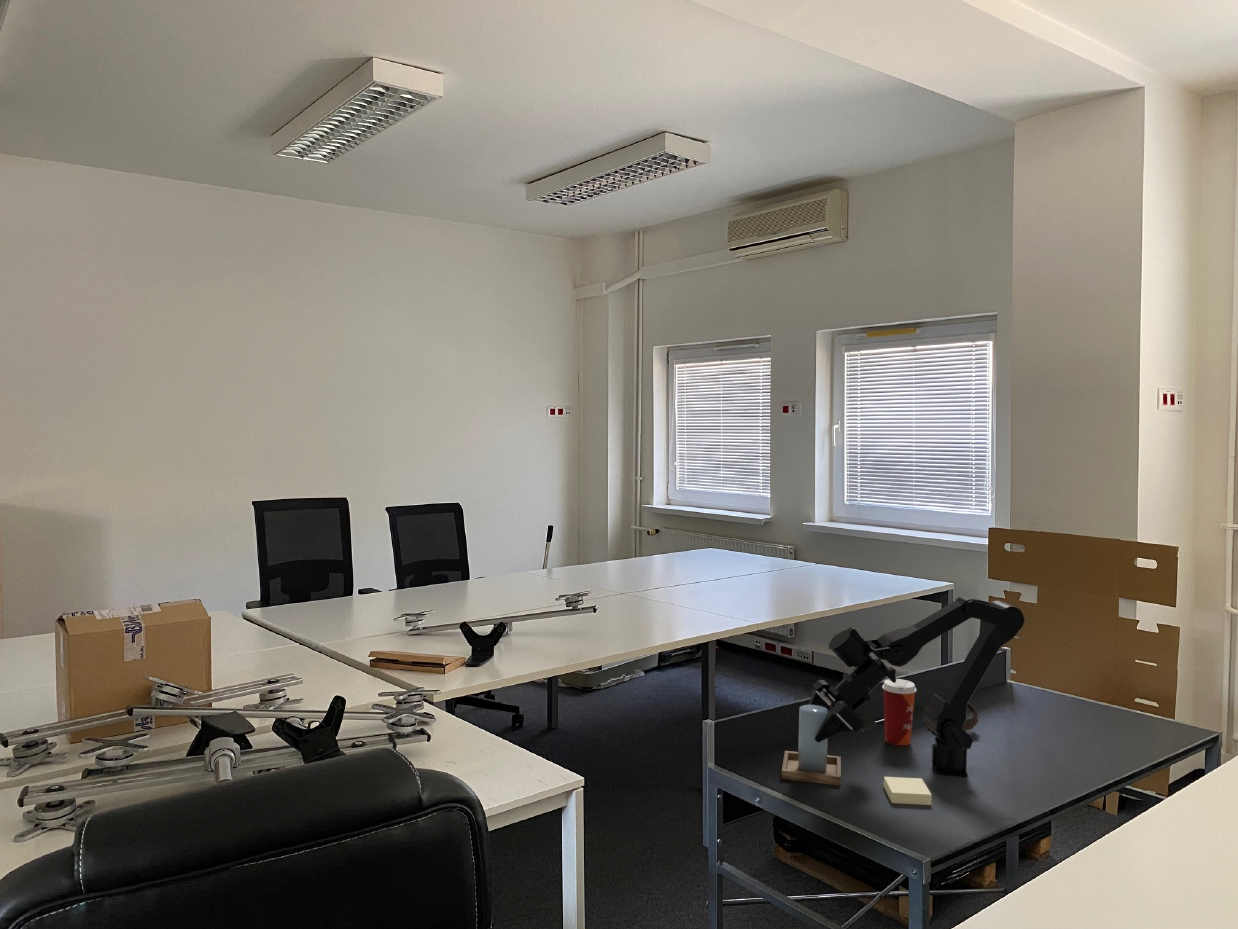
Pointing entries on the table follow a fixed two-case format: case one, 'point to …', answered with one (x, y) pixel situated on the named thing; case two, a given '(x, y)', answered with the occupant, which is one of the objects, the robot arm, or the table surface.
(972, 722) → the pottery mug
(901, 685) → the paper cup
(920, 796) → the sticky note pad
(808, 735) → the pale blue cylinder
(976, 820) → the table surface
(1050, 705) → the table surface
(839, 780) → the tray
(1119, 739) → the table surface
